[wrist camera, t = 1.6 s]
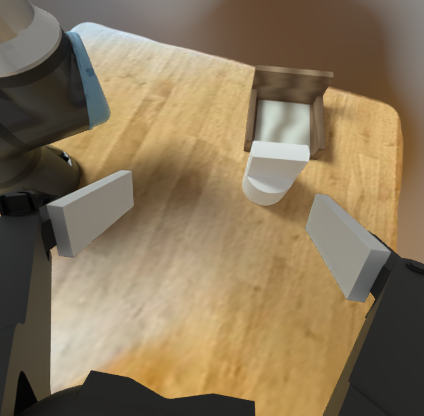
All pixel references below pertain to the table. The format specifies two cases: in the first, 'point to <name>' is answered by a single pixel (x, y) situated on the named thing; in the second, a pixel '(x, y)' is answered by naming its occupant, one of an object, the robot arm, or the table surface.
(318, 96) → the walnut rest
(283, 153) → the base with upright slab
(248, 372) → the table surface
